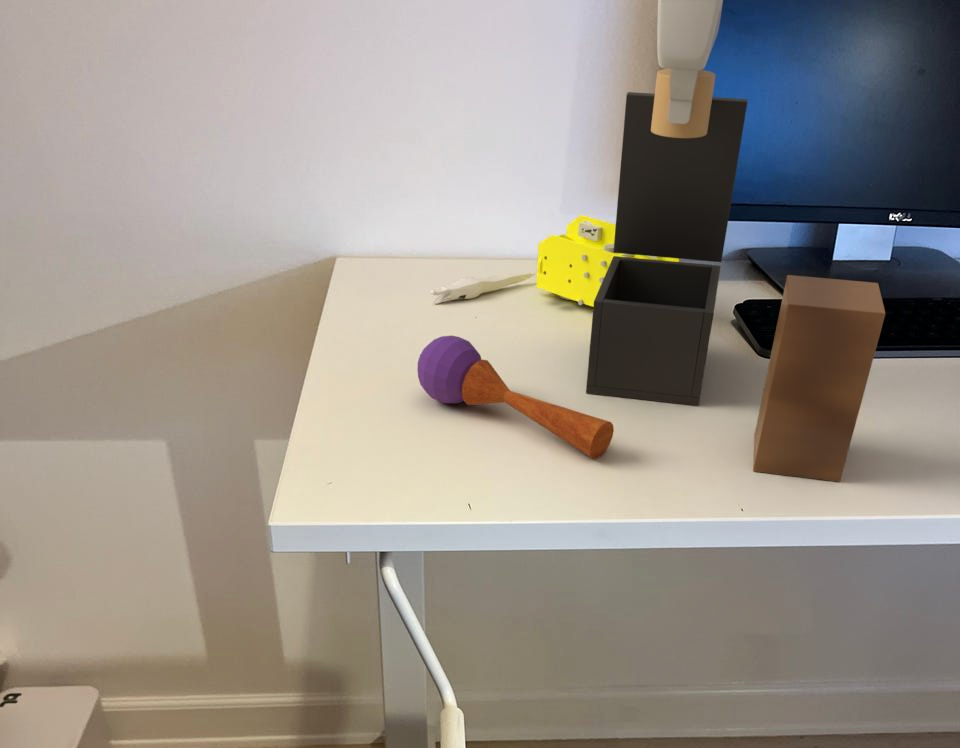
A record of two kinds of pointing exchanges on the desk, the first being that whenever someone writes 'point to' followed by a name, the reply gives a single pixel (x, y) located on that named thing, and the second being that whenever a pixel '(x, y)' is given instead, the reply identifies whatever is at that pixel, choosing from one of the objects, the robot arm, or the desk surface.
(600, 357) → the dark open-top box
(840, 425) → the stand
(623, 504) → the desk surface
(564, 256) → the yellow toy chassis
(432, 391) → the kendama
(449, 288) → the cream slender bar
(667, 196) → the dark box lid
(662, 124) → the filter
